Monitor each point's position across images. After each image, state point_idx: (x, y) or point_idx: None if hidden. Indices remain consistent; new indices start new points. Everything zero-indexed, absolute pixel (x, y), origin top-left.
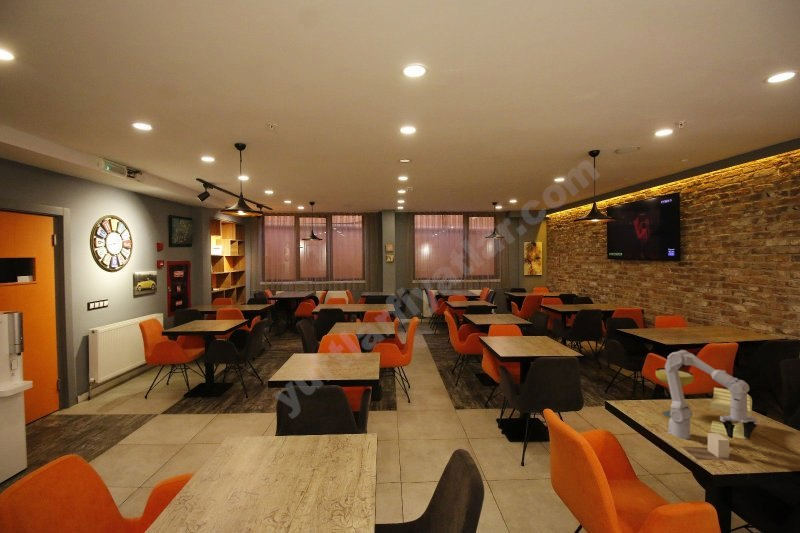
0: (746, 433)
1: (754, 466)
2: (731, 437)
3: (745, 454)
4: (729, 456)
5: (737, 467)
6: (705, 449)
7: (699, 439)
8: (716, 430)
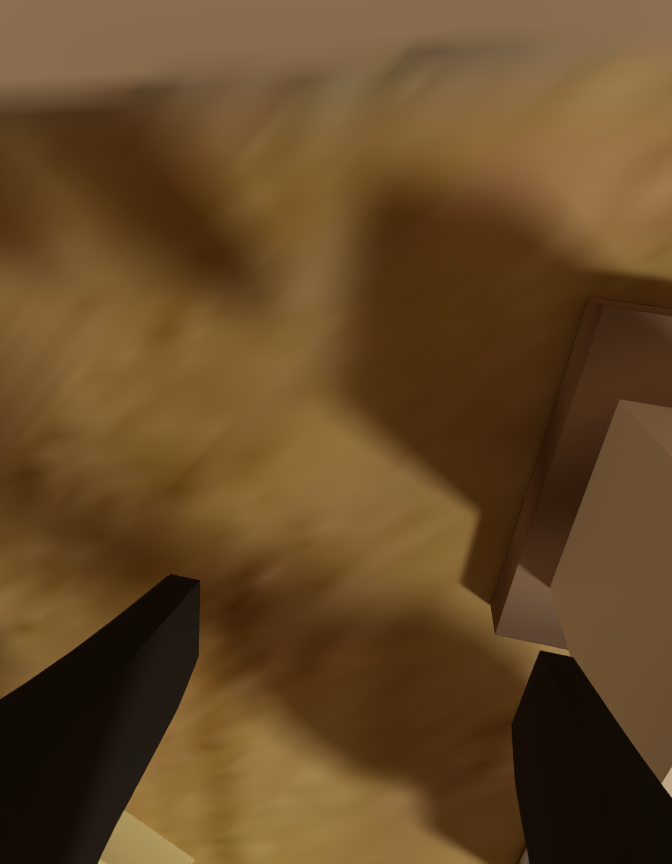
0: (147, 702)
1: (371, 229)
2: (577, 668)
3: (223, 507)
4: (560, 439)
5: (664, 210)
6: None
7: (436, 796)
8: (151, 858)
